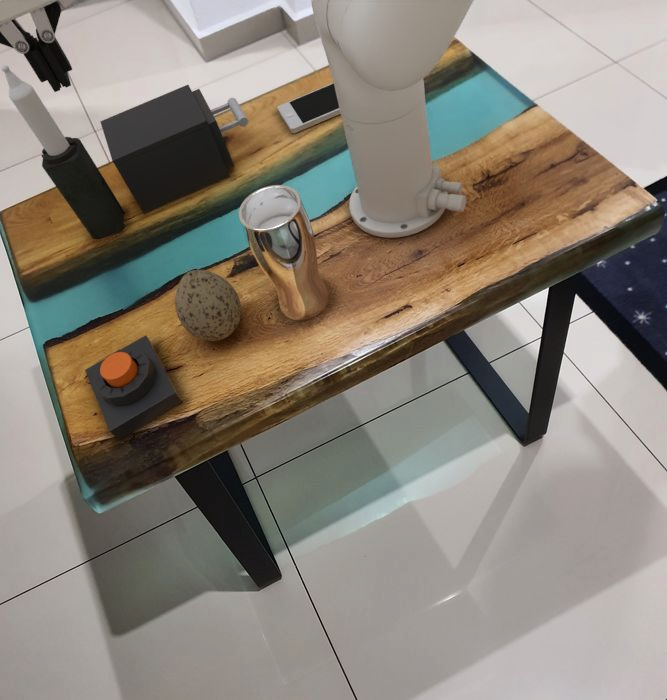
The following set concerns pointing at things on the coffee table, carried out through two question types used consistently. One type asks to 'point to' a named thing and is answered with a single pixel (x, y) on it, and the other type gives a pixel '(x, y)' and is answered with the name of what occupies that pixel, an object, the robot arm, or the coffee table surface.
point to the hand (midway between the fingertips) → (61, 81)
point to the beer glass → (285, 249)
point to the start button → (119, 369)
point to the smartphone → (310, 108)
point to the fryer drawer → (217, 130)
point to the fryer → (164, 149)
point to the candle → (68, 164)
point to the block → (135, 391)
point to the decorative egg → (207, 305)
